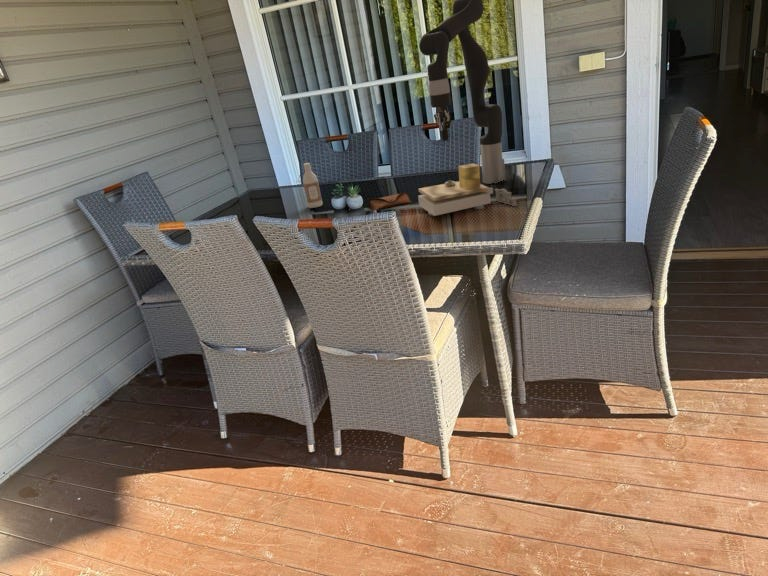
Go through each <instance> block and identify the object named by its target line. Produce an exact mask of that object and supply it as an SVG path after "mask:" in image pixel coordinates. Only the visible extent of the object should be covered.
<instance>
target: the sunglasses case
mask: <svg viewBox="0 0 768 576" xmlns="http://www.w3.org/2000/svg"><path fill="white" fill-rule="evenodd" d="M407 193H408V192H405V191H404V192H403V191H402V192H401V193H396V194H393V195H387V196H382V197H375V198H372V199H369V201H368V206H369V208H370V209H371V210H372V211H374V210H376V211H375V212H377V210H378V211H381V210H385V209H389V207H390V208H394V206H395V207H398V205H399V206H403V204H404V205H407V203H409V204H412V203H413V202H412V201H411V199H410V197H409V195H408V194H407Z"/></svg>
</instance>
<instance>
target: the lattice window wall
mask: <svg viewBox="0 0 768 576" xmlns="http://www.w3.org/2000/svg"><path fill="white" fill-rule="evenodd" d="M494 191H495V200H496V201H498V202H497V203H499V202H504V203H506V204H509V205H512V206H514V205H516V206H517V198H513V197H512V193H513V192H511V191H508V190H507V189H506V188H500V189H499V188H495V189H494ZM496 201H495V202H496ZM506 204H505V205H506ZM509 205H508V206H509ZM512 206H511V207H512Z"/></svg>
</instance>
